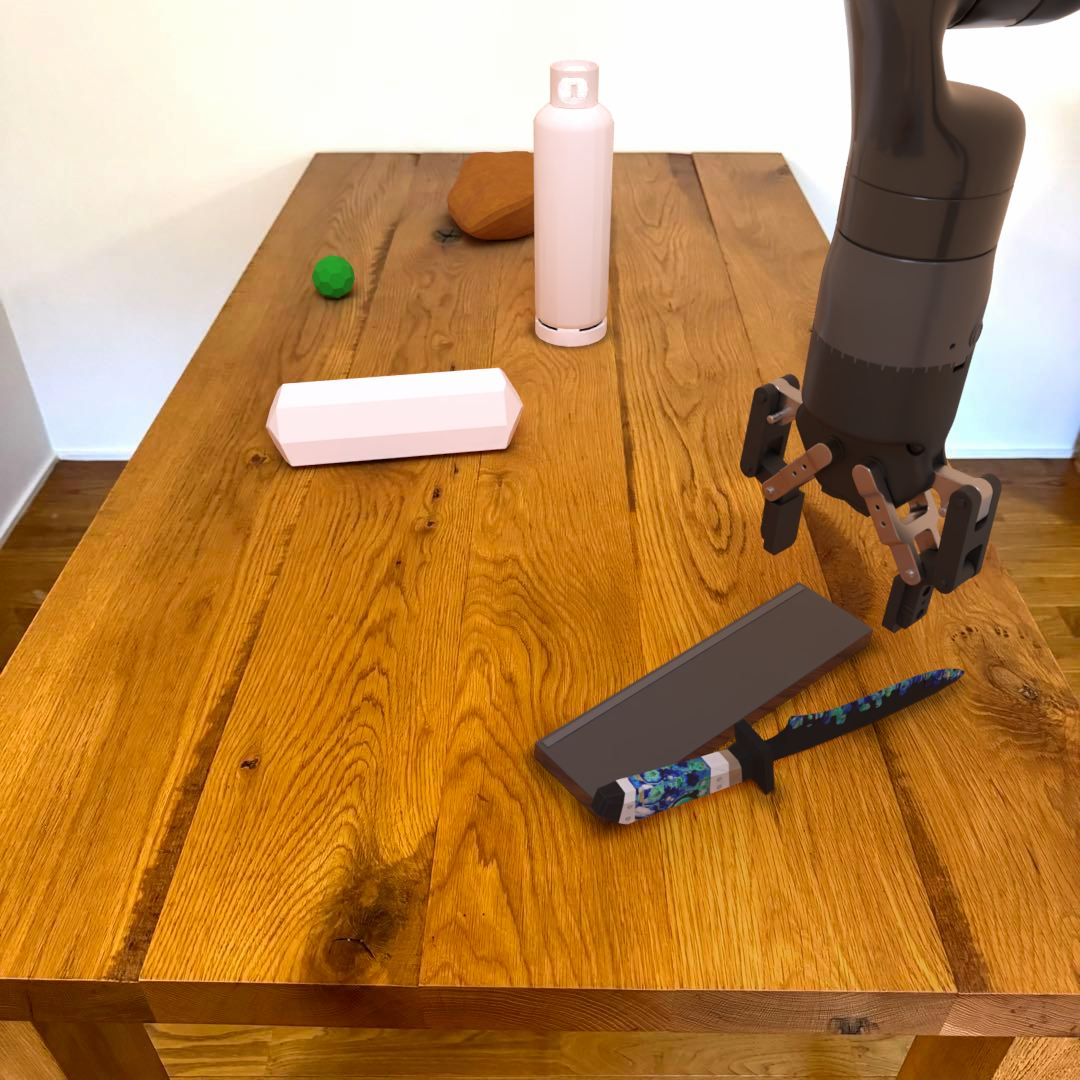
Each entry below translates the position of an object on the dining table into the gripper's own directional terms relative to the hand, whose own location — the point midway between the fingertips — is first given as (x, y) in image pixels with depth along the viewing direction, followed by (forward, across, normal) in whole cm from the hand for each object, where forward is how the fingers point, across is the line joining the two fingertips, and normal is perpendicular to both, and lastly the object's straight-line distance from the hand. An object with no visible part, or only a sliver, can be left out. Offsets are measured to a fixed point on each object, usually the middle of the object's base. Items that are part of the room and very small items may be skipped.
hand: (836, 584), depth 59 cm
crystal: (+15, -49, 0) cm, 51 cm away
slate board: (+15, -7, -1) cm, 16 cm away
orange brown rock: (+15, -88, +40) cm, 98 cm away
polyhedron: (+15, -82, +12) cm, 84 cm away
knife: (+15, 0, -1) cm, 15 cm away
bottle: (+15, -57, +28) cm, 66 cm away
